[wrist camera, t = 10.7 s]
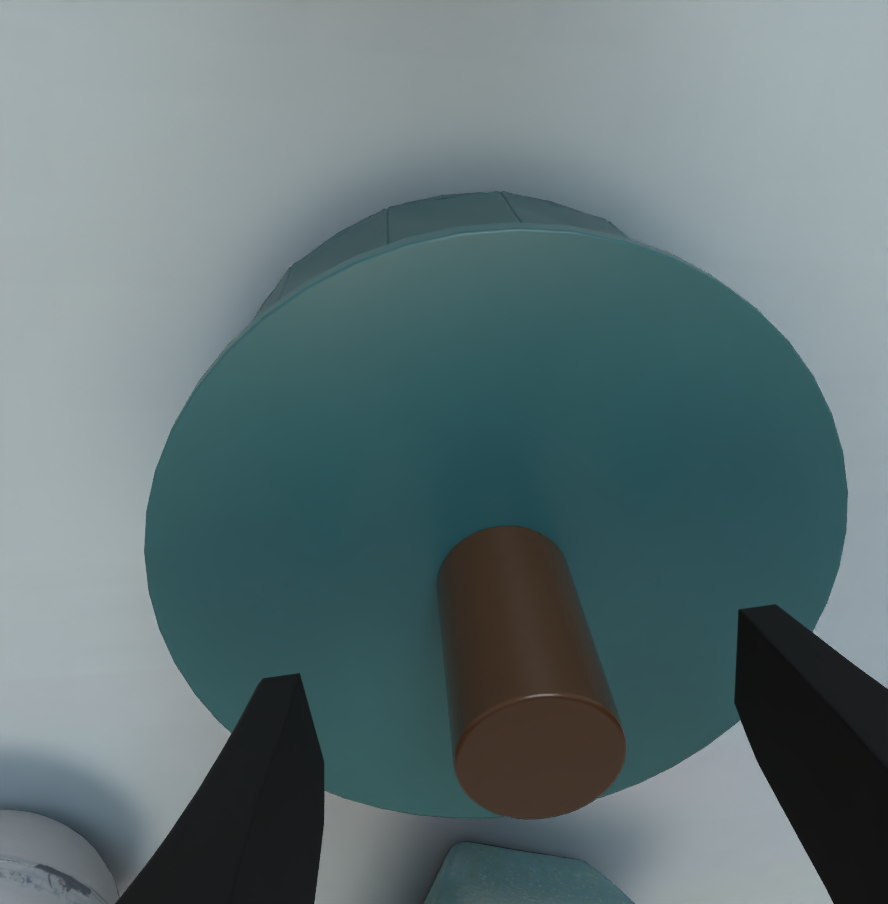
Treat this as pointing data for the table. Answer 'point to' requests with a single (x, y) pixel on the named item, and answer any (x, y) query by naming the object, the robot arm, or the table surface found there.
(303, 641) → the tin lid
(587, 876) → the flower pot
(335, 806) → the table surface
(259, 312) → the tin
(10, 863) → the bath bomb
